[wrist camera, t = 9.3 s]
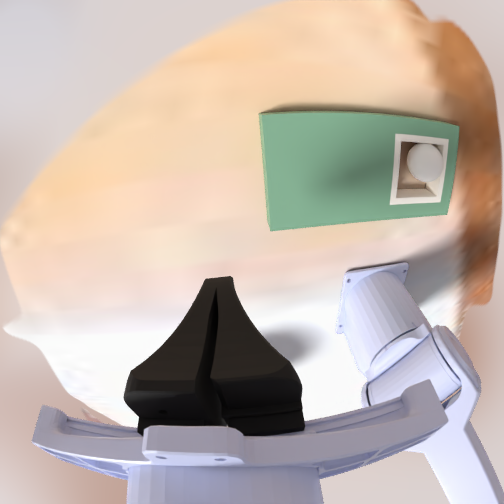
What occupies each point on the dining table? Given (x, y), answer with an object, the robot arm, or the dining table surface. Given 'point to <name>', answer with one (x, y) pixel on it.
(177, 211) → the dining table surface
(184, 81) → the dining table surface
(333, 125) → the green
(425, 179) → the ball
